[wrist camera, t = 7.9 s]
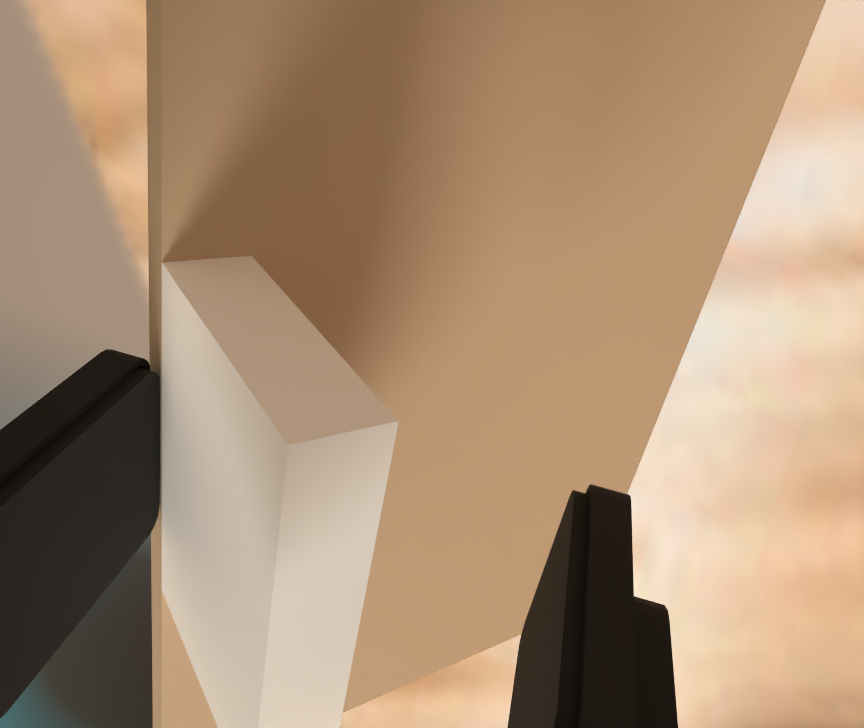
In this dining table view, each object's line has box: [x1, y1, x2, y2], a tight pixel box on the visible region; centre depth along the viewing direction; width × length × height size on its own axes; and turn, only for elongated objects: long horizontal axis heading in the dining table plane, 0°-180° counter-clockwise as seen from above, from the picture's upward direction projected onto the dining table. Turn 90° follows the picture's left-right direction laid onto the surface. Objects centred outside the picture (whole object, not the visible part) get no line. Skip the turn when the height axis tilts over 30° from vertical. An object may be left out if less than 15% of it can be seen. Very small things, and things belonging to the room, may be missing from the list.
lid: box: [146, 0, 826, 728], centre depth 13 cm, size 18×12×5 cm
